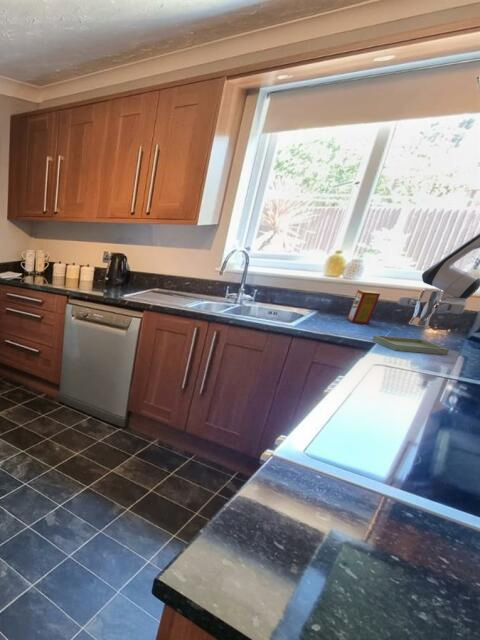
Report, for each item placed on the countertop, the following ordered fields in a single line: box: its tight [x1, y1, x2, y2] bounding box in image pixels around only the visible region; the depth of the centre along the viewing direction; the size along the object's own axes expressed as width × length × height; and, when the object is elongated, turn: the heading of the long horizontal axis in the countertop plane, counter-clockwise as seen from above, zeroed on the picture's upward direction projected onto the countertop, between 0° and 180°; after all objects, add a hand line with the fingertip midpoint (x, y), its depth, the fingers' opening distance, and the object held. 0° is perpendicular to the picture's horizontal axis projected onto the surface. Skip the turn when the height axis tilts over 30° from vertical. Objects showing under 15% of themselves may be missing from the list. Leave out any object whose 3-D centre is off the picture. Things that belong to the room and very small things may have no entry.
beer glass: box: [408, 288, 444, 328], centre depth 180 cm, size 7×7×15 cm
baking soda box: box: [346, 289, 381, 325], centre depth 220 cm, size 10×6×16 cm
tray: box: [372, 334, 450, 356], centre depth 179 cm, size 18×16×2 cm
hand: (426, 305), depth 179 cm, fingers closed on beer glass, 7 cm apart
